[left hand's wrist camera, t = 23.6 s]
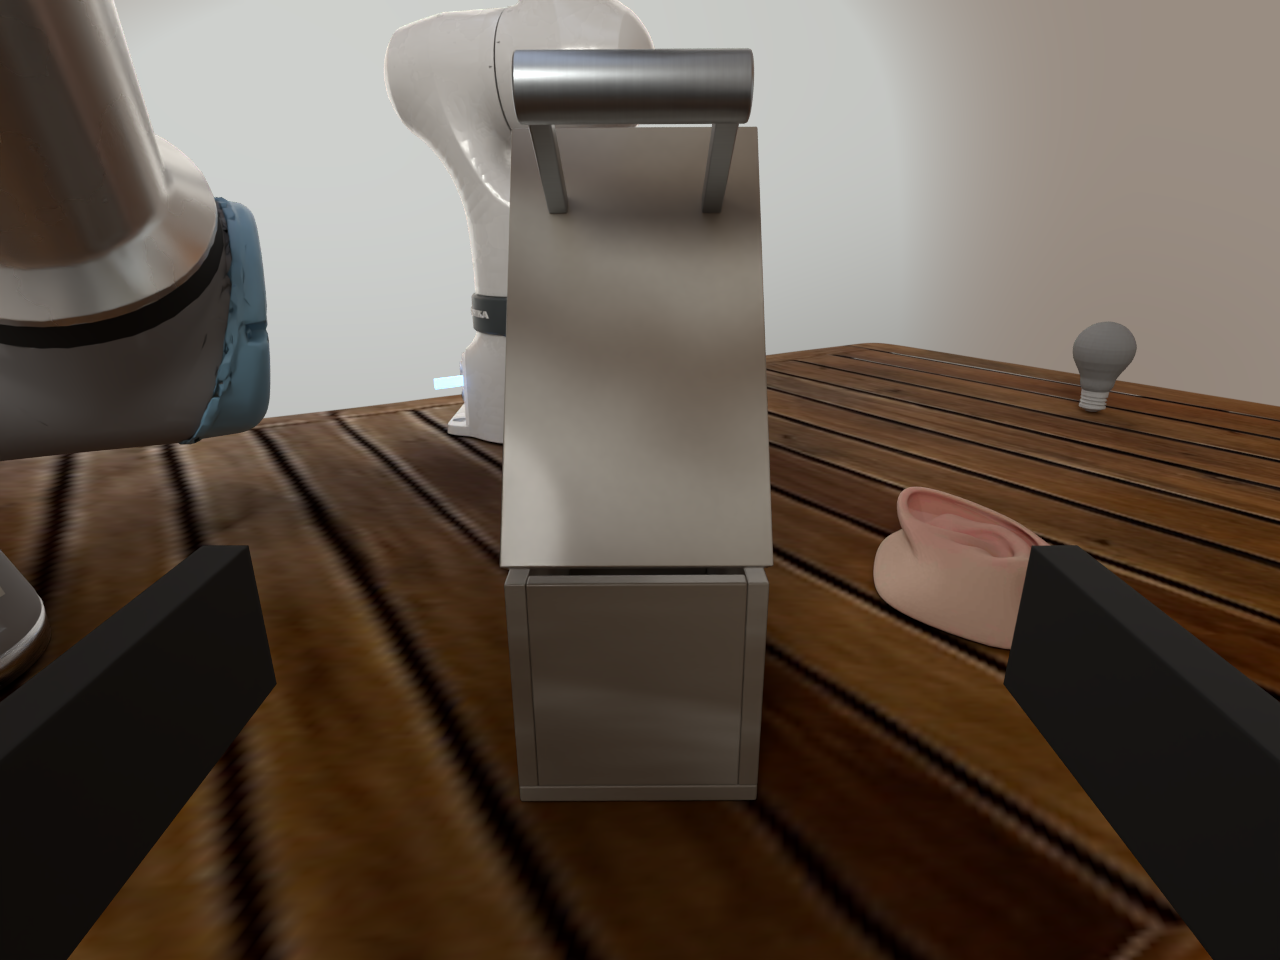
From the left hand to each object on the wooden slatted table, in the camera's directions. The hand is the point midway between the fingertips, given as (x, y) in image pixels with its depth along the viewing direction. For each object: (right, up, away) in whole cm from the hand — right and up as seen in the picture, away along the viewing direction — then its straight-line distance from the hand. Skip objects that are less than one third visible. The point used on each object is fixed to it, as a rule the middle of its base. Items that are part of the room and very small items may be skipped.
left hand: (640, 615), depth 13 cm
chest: (0, -8, +23) cm, 24 cm away
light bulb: (+52, +10, +72) cm, 89 cm away
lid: (0, +7, +15) cm, 16 cm away
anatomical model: (+20, -4, +32) cm, 38 cm away
